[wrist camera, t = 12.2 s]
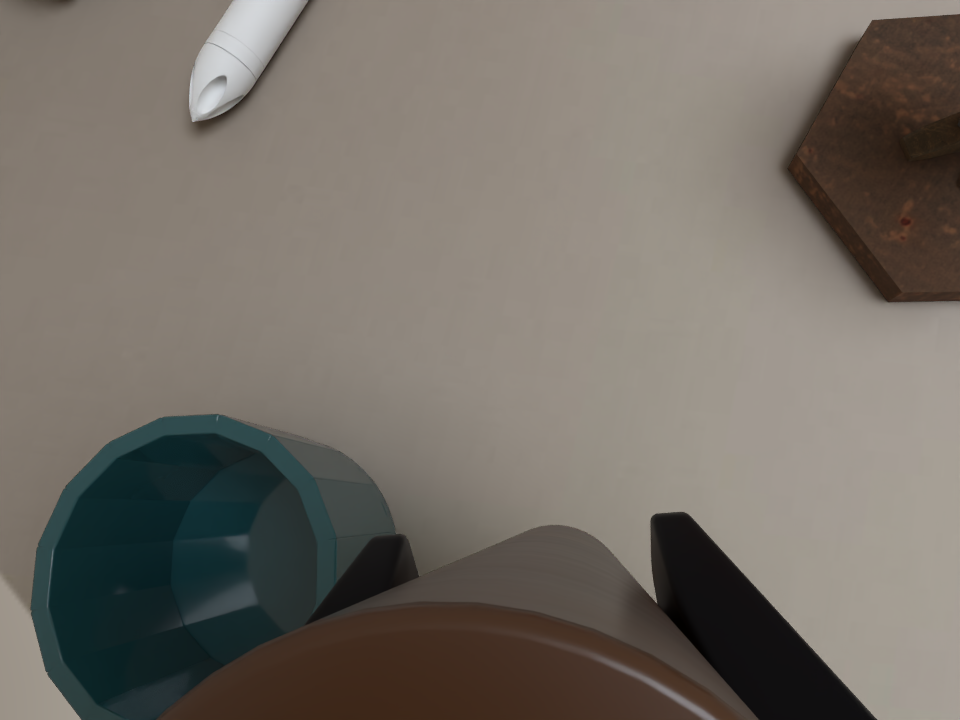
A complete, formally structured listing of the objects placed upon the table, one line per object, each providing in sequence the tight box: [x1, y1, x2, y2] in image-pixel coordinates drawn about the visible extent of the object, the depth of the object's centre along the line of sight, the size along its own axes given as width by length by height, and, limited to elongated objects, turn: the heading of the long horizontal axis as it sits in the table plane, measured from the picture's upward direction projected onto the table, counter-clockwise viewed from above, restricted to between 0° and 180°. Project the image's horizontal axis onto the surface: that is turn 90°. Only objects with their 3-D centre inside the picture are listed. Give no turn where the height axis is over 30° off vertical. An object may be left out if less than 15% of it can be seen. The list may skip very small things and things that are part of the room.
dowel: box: [156, 525, 759, 720], centre depth 8 cm, size 3×3×13 cm
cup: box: [31, 414, 396, 720], centre depth 20 cm, size 8×8×6 cm
